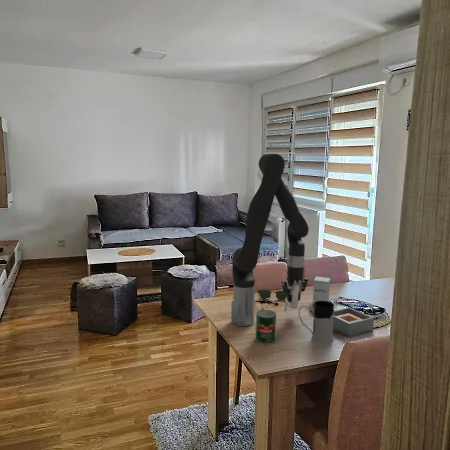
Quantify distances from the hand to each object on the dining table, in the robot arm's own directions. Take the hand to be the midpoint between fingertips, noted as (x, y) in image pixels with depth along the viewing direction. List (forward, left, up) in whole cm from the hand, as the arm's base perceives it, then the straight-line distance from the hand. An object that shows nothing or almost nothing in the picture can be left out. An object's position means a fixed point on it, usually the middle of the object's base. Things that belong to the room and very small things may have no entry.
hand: (293, 301), depth 185 cm
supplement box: (+24, +9, -8) cm, 27 cm away
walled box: (+13, -21, -8) cm, 26 cm away
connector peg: (0, 0, -3) cm, 3 cm away
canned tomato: (-25, -14, -8) cm, 30 cm away
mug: (-6, -23, -8) cm, 25 cm away
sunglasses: (+1, +18, -8) cm, 20 cm away
